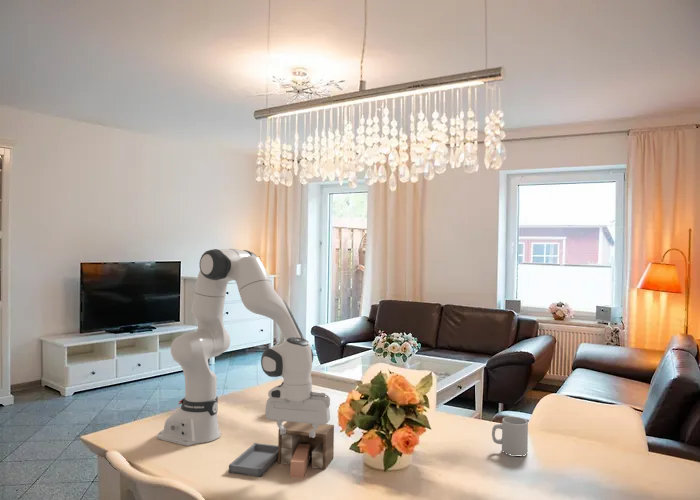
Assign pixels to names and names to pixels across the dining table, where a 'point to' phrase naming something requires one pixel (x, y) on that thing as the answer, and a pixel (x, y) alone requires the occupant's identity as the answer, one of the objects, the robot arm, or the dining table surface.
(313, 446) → the shelf
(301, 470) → the block
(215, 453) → the dining table surface
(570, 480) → the dining table surface
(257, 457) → the tray
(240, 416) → the dining table surface
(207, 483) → the dining table surface
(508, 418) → the mug
